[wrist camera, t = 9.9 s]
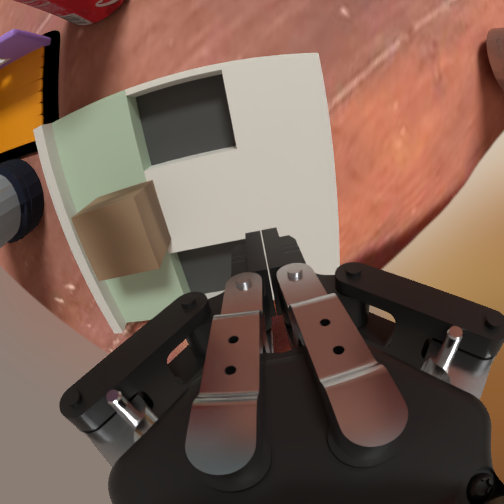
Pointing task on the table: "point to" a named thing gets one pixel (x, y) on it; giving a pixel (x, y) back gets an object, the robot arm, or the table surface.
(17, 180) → the humidifier
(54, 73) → the dollhouse room
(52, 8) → the beverage can
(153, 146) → the box
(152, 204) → the walnut block
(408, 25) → the table surface
